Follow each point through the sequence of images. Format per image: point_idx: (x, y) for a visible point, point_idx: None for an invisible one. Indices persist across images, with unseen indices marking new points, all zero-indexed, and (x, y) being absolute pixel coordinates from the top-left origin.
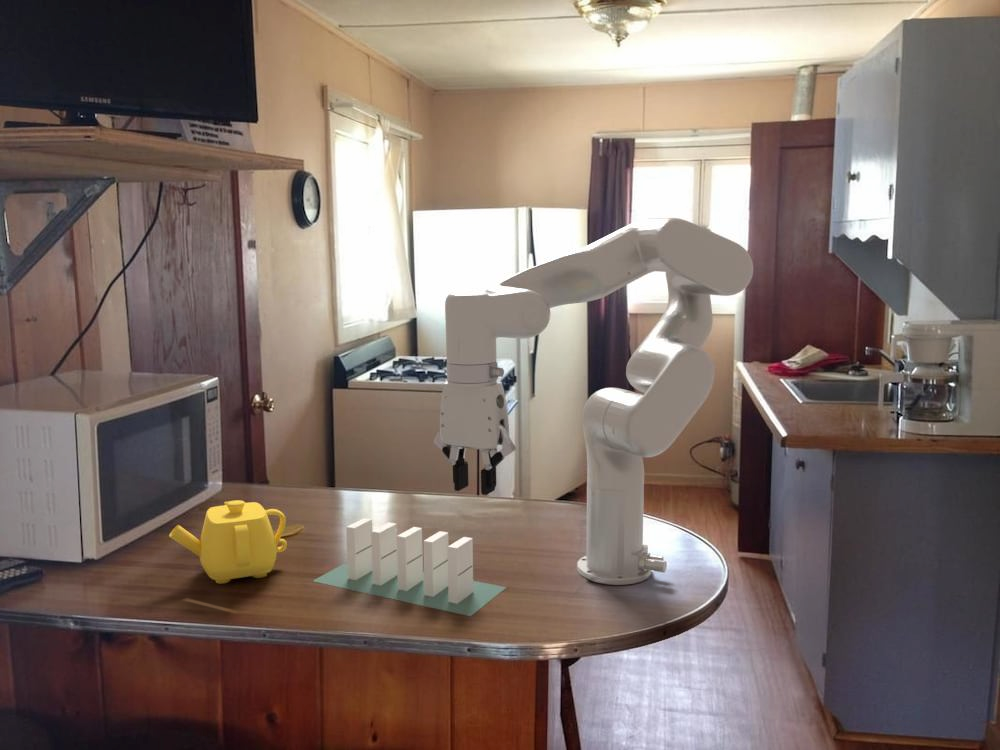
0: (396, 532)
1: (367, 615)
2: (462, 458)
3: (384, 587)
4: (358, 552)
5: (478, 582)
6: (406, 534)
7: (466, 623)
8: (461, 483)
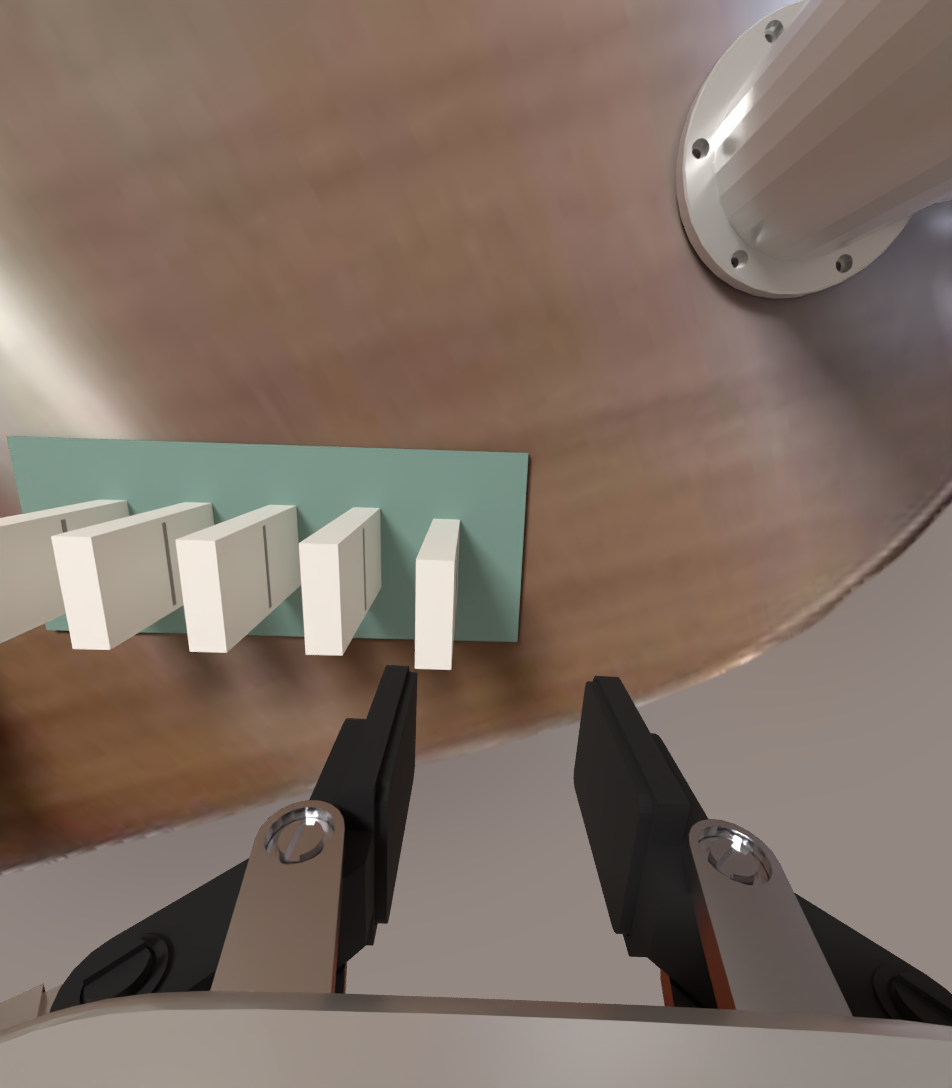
0: (118, 531)
1: (298, 713)
2: (348, 888)
3: None
4: None
5: (442, 455)
6: (209, 625)
7: (518, 661)
8: (410, 771)
